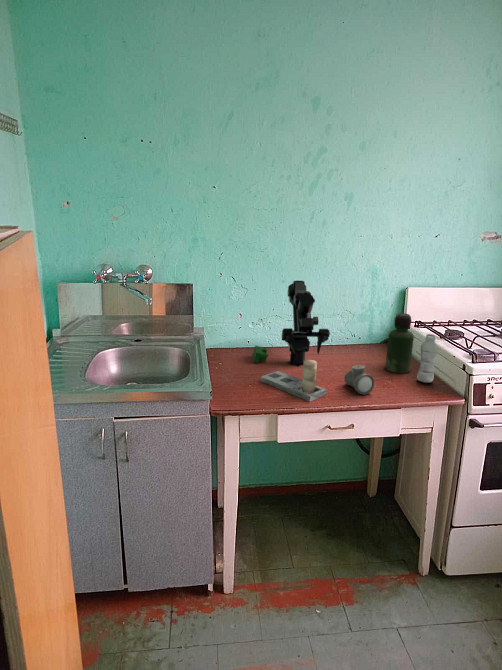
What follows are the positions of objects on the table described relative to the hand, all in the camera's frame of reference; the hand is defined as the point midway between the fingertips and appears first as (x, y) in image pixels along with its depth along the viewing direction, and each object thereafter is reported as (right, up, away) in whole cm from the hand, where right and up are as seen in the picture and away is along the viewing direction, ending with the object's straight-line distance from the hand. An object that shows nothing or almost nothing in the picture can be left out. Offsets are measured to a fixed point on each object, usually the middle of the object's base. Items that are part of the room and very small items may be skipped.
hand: (306, 353), depth 186 cm
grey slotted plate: (-5, -14, +2) cm, 15 cm away
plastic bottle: (+50, -12, +11) cm, 53 cm away
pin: (0, -15, -4) cm, 16 cm away
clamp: (-18, -5, +32) cm, 37 cm away
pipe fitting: (+20, -14, +2) cm, 25 cm away
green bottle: (+43, -8, +24) cm, 50 cm away
